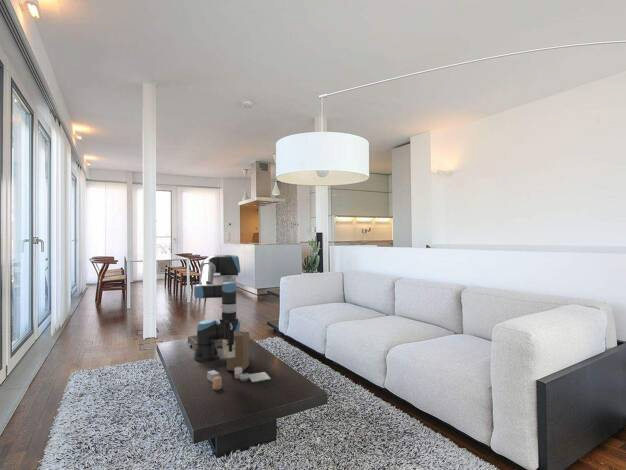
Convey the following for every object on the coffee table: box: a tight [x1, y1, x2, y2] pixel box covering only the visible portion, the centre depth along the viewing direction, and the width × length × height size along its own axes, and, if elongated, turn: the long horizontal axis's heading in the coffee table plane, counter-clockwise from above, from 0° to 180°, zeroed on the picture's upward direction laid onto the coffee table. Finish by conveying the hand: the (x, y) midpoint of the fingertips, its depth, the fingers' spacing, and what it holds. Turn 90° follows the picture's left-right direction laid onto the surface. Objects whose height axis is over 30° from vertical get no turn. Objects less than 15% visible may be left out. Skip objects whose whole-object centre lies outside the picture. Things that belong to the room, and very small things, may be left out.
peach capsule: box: [212, 375, 223, 391], centre depth 182 cm, size 4×4×5 cm
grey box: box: [206, 369, 220, 383], centre depth 193 cm, size 6×4×4 cm, turn 41°
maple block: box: [222, 340, 235, 359], centre depth 190 cm, size 6×6×8 cm
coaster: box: [249, 371, 271, 383], centre depth 196 cm, size 10×10×1 cm
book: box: [187, 334, 223, 351], centre depth 261 cm, size 30×22×5 cm
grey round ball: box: [238, 372, 250, 383], centre depth 192 cm, size 5×5×3 cm
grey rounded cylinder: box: [234, 367, 243, 380], centre depth 196 cm, size 4×4×5 cm
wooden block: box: [226, 331, 250, 372], centre depth 210 cm, size 10×10×20 cm
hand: (228, 355), depth 190 cm, fingers closed on maple block, 6 cm apart
